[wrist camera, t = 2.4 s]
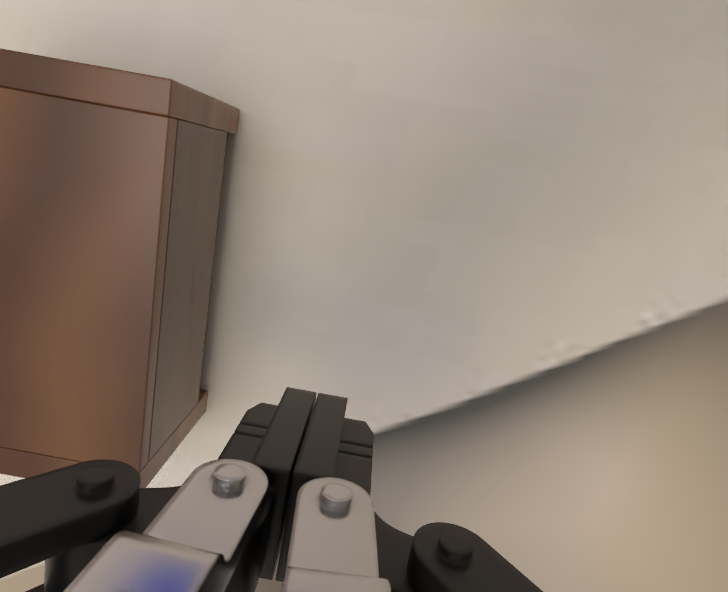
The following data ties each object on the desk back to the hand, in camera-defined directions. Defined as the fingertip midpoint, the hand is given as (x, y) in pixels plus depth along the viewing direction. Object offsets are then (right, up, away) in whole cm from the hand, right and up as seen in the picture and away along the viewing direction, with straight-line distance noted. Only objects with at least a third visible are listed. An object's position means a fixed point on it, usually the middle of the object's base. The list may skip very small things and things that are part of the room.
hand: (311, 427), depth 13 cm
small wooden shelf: (-11, +5, +14) cm, 19 cm away
